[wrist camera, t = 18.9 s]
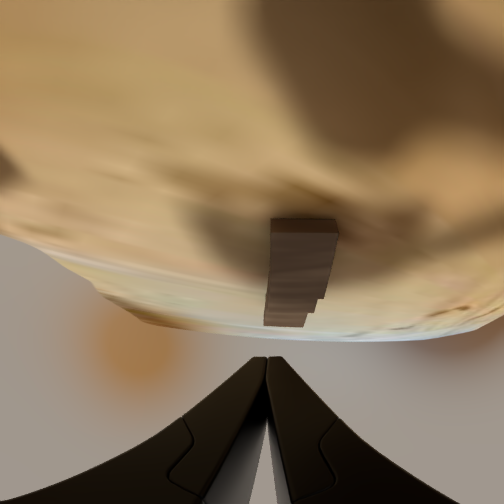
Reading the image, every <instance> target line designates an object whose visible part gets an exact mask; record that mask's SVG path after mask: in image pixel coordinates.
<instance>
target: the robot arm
mask: <svg viewBox="0 0 504 504" xmlns="http://www.w3.org/2000/svg"><path fill="white" fill-rule="evenodd" d="M267 423H268V433H269V441H270V450H271V458H272V465H273V473H274V481H275V489H276V496H277V503H278V504H459V503H458V502H456V501H454V500H452V499H450V498H449V497H447V496H445V495H444V494H442V493H440V492H439V491H437V490H435V489H434V488H432V487H430V486H429V485H427V484H426V483H424V482H423V481H421V480H419V479H418V478H416V477H414V476H413V475H412V474H410V473H409V472H407V471H406V470H404V469H403V468H401V467H400V466H398V465H397V464H395V463H394V462H392V461H391V460H389V459H388V458H387V457H385V456H384V455H382V454H381V453H379V452H378V451H377V450H375V449H374V448H373V447H371V446H370V445H369V444H368V443H366V442H365V441H364V440H362V439H361V438H360V437H359V436H358V435H357V434H356V433H355V432H354V431H353V430H352V429H350V428H349V427H348V426H347V425H346V424H345V423H344V421H343V420H342V419H340V418H339V417H338V416H337V415H336V414H335V413H334V412H333V411H332V410H331V409H330V408H329V407H328V406H327V405H326V404H325V403H324V401H322V399H321V398H319V396H318V395H317V394H316V393H315V392H314V391H313V390H312V389H311V388H310V387H309V386H308V384H306V382H304V380H303V379H302V378H301V377H300V376H299V375H298V374H297V373H296V371H294V369H293V368H292V367H291V366H290V365H289V364H288V363H287V362H286V360H285V359H284V358H283V357H281V356H276V357H269V358H268V359H267V357H253V358H251V359H250V360H249V361H248V362H247V363H246V364H244V365H243V366H242V367H241V368H240V369H239V370H237V371H236V372H235V373H234V374H233V375H232V376H231V377H230V378H228V379H227V380H226V381H225V382H224V383H222V384H221V385H220V386H219V387H218V388H216V389H215V390H214V391H213V392H212V393H210V394H209V395H208V396H207V397H205V398H204V399H203V400H202V401H200V402H199V403H198V404H197V405H195V406H194V407H193V408H192V409H190V410H189V411H188V412H187V413H185V414H184V415H183V416H182V417H180V418H178V419H177V420H175V421H174V422H173V423H171V424H170V425H169V426H167V427H166V428H164V429H163V430H162V431H160V432H159V433H157V434H156V435H154V436H153V437H151V438H149V439H148V440H146V441H144V442H143V443H141V444H139V445H137V446H136V447H134V448H132V449H130V450H128V451H126V452H124V453H122V454H120V455H118V456H116V457H114V458H112V459H110V460H109V461H106V462H104V463H102V464H100V465H98V466H96V467H94V468H91V469H89V470H87V471H85V472H83V473H80V474H78V475H76V476H73V477H71V478H69V479H66V480H64V481H61V482H59V483H56V484H54V485H51V486H48V487H46V488H43V489H40V490H37V491H35V492H31V493H29V494H25V495H22V496H19V497H16V498H13V499H9V500H5V501H0V504H249V501H250V497H251V493H252V489H253V484H254V480H255V476H256V472H257V467H258V463H259V458H260V453H261V449H262V444H263V440H264V435H265V431H266V425H267Z"/></svg>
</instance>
